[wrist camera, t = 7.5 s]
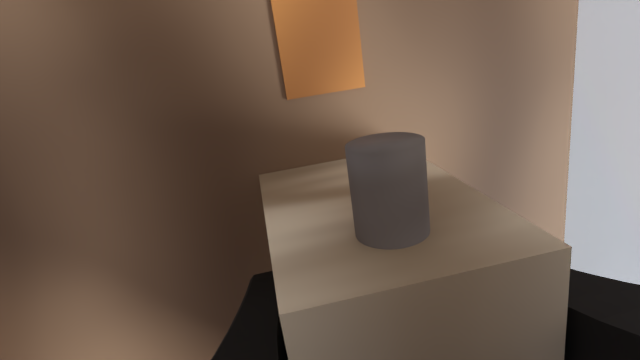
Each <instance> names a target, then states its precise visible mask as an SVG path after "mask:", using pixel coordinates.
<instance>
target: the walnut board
mask: <svg viewBox="0 0 640 360" xmlns="http://www.w3.org/2000/svg"><path fill="white" fill-rule="evenodd" d="M578 1H579V0H0V360H211V359H212V357H213V356H214V354H215V352H216V351H217V349H218V347H219V345H220V344H221V342H222V340H223V339H224V337H225V335H226V333H227V332H228V330H229V328H230V326H231V324H232V322H233V320H234V318H235V316H236V314H237V312H238V309H239V307H240V305H241V303H242V301H243V298H244V296H245V293H246V291H247V288H248V285H249V282H250V279H251V278H252V277H253V275H255V274H260V273H264V272H269V271H273V270H272V263H271V256H270V249H269V243H268V236H267V229H266V222H265V215H264V208H263V201H262V194H261V187H260V181H259V175H261V174H266V173H272V172H277V171H282V170H288V169H293V168H298V167H304V166H309V165H314V164H320V163H325V162H330V161H336V160H341V159H346V154H345V145H346V144H347V143H348V142H349V141H351V140H354V139H356V138H359V137H363V136H367V135H372V134H378V133H386V132H410V133H416V134H420V135H422V136H424V137H425V146H426V160H427V161H429V162H430V163H432V164H434V165H435V166H437V167H439V168H440V169H442V170H444V171H445V172H447V173H449V174H450V175H452V176H454V177H455V178H457V179H459V180H460V181H462V182H464V183H465V184H467V185H469V186H471V187H472V188H474V189H476V190H477V191H479V192H481V193H482V194H484V195H486V196H487V197H489V198H491V199H492V200H494V201H496V202H497V203H499V204H501V205H502V206H504V207H506V208H507V209H509V210H511V211H512V212H514V213H516V214H517V215H519V216H521V217H522V218H524V219H526V220H527V221H529V222H531V223H532V224H534V225H536V226H537V227H539V228H541V229H542V230H544V231H546V232H548V233H549V234H551V235H553V236H554V237H556V238H558V239H559V240H561V241H563V242H564V233H565V217H566V200H567V183H568V167H569V150H570V134H571V117H572V100H573V84H574V67H575V51H576V34H577V17H578Z"/></svg>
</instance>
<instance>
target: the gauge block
mask: <svg viewBox="0 0 640 360" xmlns="http://www.w3.org/2000/svg"><path fill="white" fill-rule="evenodd" d="M345 154H346V159H341V160H336V161H330V162H325V163H320V164H314V165H309V166H304V167H298V168H293V169H288V170H282V171H277V172H272V173H266V174H261V175H259V181H260V187H261V194H262V201H263V208H264V215H265V222H266V229H267V236H268V243H269V249H270V256H271V263H272V270H273V277H274V284H275V291H276V298H277V305H278V311H279V317H280V322H281V327H282V332H283V337H284V342H285V347H286V352H287V356H288V360H564V353H565V339H566V324H567V309H568V294H569V279H570V264H571V249H572V247H571V246H569V245H568V244H566V243H564V242H563V241H561V240H559V239H558V238H556V237H554V236H553V235H551V234H549V233H548V232H546V231H544V230H542V229H541V228H539V227H537V226H536V225H534V224H532V223H531V222H529V221H527V220H526V219H524V218H522V217H521V216H519V215H517V214H516V213H514V212H512V211H511V210H509V209H507V208H506V207H504V206H502V205H501V204H499V203H497V202H496V201H494V200H492V199H491V198H489V197H487V196H486V195H484V194H482V193H481V192H479V191H477V190H476V189H474V188H472V187H471V186H469V185H467V184H465V183H464V182H462V181H460V180H459V179H457V178H455V177H454V176H452V175H450V174H449V173H447V172H445V171H444V170H442V169H440V168H439V167H437V166H435V165H434V164H432V163H430V162H429V161H427V160H426V146H425V137H424V136H422V135H420V134H416V133H410V132H386V133H378V134H372V135H367V136H363V137H359V138H356V139H354V140H351V141H349V142H348V143H347V144H346V145H345Z"/></svg>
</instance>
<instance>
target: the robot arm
mask: <svg viewBox="0 0 640 360" xmlns="http://www.w3.org/2000/svg"><path fill="white" fill-rule="evenodd" d="M211 360H288V356H287V352H286V347H285V342H284V337H283V332H282V327H281V322H280V317H279V311H278V305H277V298H276V291H275V284H274V277H273V271H269V272H264V273H260V274H255V275H253V277H252V278H251V279H250V282H249V285H248V288H247V291H246V293H245V296H244V298H243V301H242V303H241V305H240V307H239V309H238V312H237V314H236V316H235V318H234V320H233V322H232V324H231V326H230V328H229V330H228V332H227V333H226V335H225V337H224V339H223V340H222V342H221V344H220V345H219V347H218V349H217V351H216V352H215V354H214V356H213V357H212V359H211ZM564 360H640V285H637V284H632V283H627V282H622V281H618V280H614V279H609V278H605V277H600V276H596V275H592V274H588V273H584V272H580V271H576V270H573V269H570V279H569V294H568V309H567V324H566V339H565V353H564Z"/></svg>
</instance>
